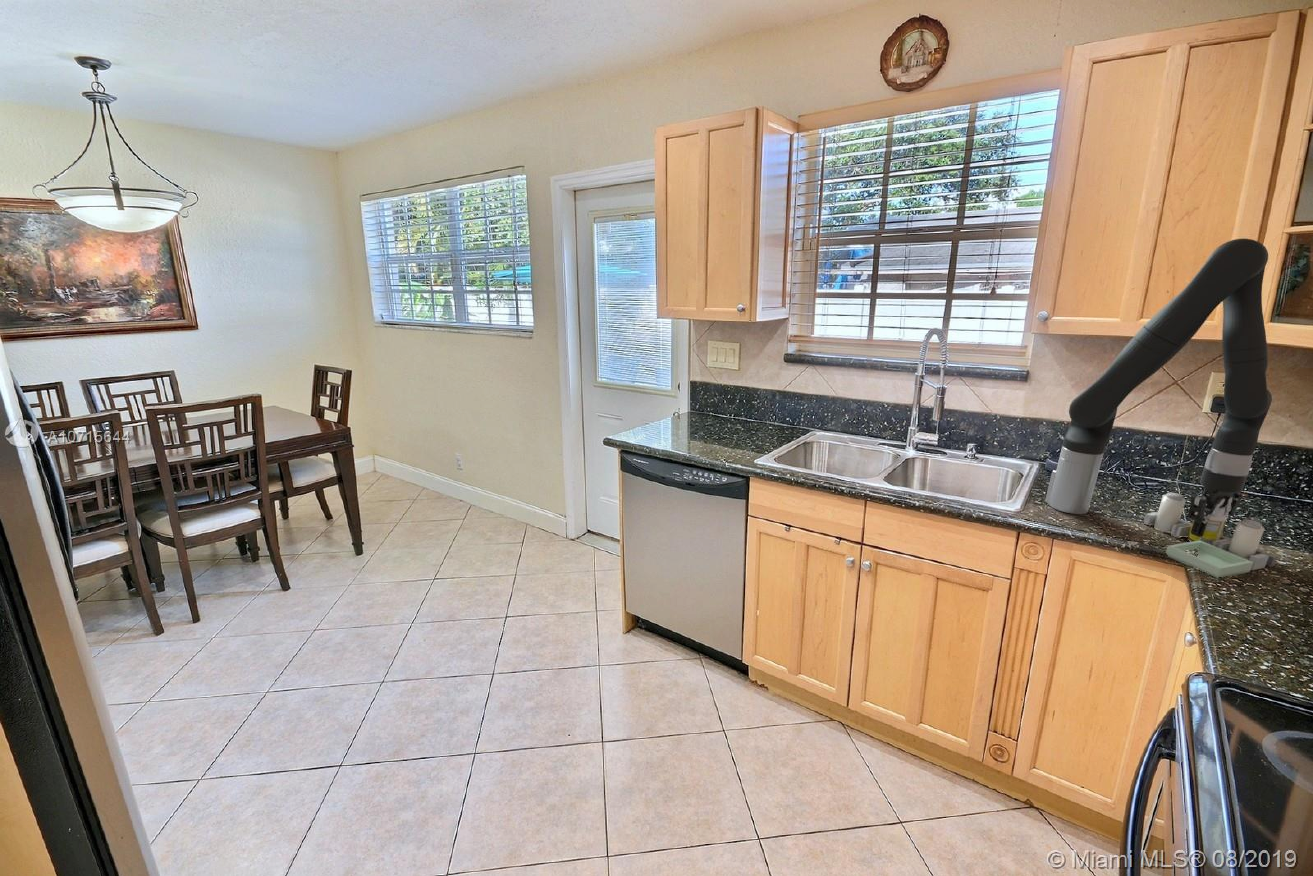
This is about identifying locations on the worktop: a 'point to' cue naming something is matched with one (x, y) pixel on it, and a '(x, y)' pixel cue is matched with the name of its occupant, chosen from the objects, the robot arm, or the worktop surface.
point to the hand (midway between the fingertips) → (1205, 533)
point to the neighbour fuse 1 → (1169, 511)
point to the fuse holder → (1217, 542)
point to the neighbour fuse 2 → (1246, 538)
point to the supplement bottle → (1211, 528)
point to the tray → (1209, 559)
